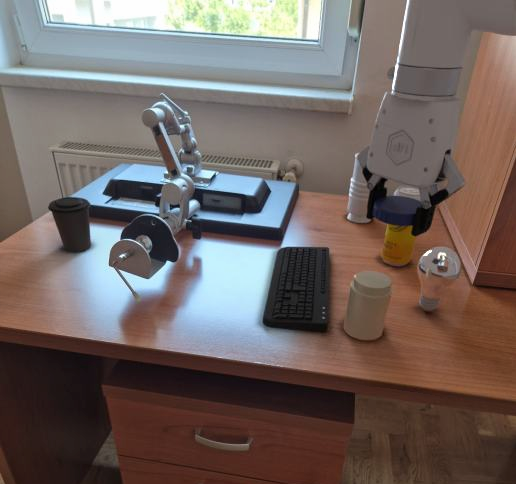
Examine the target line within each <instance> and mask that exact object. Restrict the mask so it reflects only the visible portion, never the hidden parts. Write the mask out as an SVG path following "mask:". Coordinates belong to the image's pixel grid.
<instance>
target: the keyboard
mask: <svg viewBox="0 0 516 484" xmlns="http://www.w3.org/2000/svg"><path fill="white" fill-rule="evenodd" d="M329 291H330V248H329V247H328V246H285V247H281V248H279V249H278V250H277V252H276V257H275V260H274V265H273V269H272V274H271V279H270V284H269V289H268V292H267V297H266V302H265V305H264V310H263V315H262V324H264V325H265V326H266V327H268V328H274V329H275V328H277V329H286V330H295V331H303V332H305V331H306V332H315V333H326V332H327V331H328V325H329V304H330V303H329V300H330V299H329V298H330V297H329V296H330V293H329Z"/></svg>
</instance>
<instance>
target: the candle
mask: <svg viewBox="0 0 516 484" xmlns="http://www.w3.org/2000/svg"><path fill="white" fill-rule="evenodd" d="M359 153H360V152H357V153H355V154H354V158H355V160H354V165H353V166H354V167H353V172H352V177H351V178H350V184H349V187H350V188H349V190H348V192H349V193H348V197H349V198H348V202H347V207H346V212H347V213H348V215H347V217H346V218H347V220H348V221H350V222H353V223H357V224H367V223H369V222H371V221H372V219H367V218H366V215H367V204H368V198H369V192H370V190H368V189H367V181H366V179H365V177H364V175H363V173H362V170H363V169H361V166H360V164H359V161H358V159H357V156H358V154H359Z"/></svg>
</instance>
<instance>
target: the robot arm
mask: <svg viewBox="0 0 516 484" xmlns="http://www.w3.org/2000/svg"><path fill="white" fill-rule="evenodd" d="M404 12H405V13H404V18H403V22H402V23H403V24H402V29H401V30H402V31H401V36H400V42H399V48H398V53H397V58H396V63H395V66H390V67H389V69H388V70H387V75H386V76H387V79H388V80H392V84H391V90H387V91H386V92H385V93H384V96H383V98H382V101H381V104H380V106H379V109H378V112H377V116H376V118H375V122H374V125H373V130H372V134H371V138H370V143H369V146H367V147H366V148H365V149H363V150H362V151H361V152H358V153H359V154H358V156H357V159H358V161H359V164H360V166H361V169H363V170H362V173H363V175H364V177H365V179H366V181H367V189H368V190H370V192H369V198H368V204H367V215H366V218H367V219H371V220H372V219H376V218H375V217H374V216H373V214H372V212H373V206H374V203H375V200H376V199H378V198H381V197H384V196H388V187H385V185H386V184H387V183H388V181H389V180H390V181H393V182H396V183H400V184H403V185H405V186H413V187H417V188H419V192H420V197H421V203H422V205H421V206H419V207H417V209H416V213H415V218H414V222H413V226H412V231H411V234H412V235H413V236H415V237H416V238H417V237H418V236H421V235H423V234H425V233H427V232H428V231H429V230H430V229H431V226H432V223H433V219H434V215H435V211H436V207H437V206H438V205H441V203H442V202H444V201H446V200H448V199H449V198H450V197H452V196H453V195H454V194H457V192H458V191H460V190H461V189H462V188H464V187H465V186H466V183H467V182H466V179H465V178H464V176H463V174H462V173H461V171H460V169H459V168H458V166H457V164H456V163H455V162H454V159H453V157H454V153H455V148H456V141H457V135H458V128H459V119H460V118H459V117H460V99H459V98H456V97H457V93H458V88H459V84H460V80H461V76H462V72H463V69H464V68H463V67H464V64H465V59H466V55H467V51H468V48H469V43H470V39H471V35H472V33H473V31H474V30H475V31H479V32H482V33H483V32H484V33H493V34H495V35H500V36H509V37H516V0H407V1H406V7H405V11H404ZM445 180H447V184H446V185H445V186H444V187H442V189H441V188H440V183H442V182H444V181H445Z"/></svg>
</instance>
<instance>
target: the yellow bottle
mask: <svg viewBox="0 0 516 484" xmlns="http://www.w3.org/2000/svg"><path fill="white" fill-rule="evenodd" d="M392 196H404V197H409V198H413V199H416V200H419V201H421V197H420V192H419V188H417V187H413V186H409V185H400V186H398V187H397V188H396V190H395V191H394V192H393V195H392ZM411 231H412V226H396V225H391V224H387V223H386V228H385V234H384V240H383V244H382V249H381V254H380V257H381V258H382V261H383V262H384V263H385V264H387V265H390V266H392V267H403V266H406V265H408V263H409V262H411V260H412V256H413V251H414V247H415V244H416V239H417V236H416V237H415V236H413V235H412V234H411Z"/></svg>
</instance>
